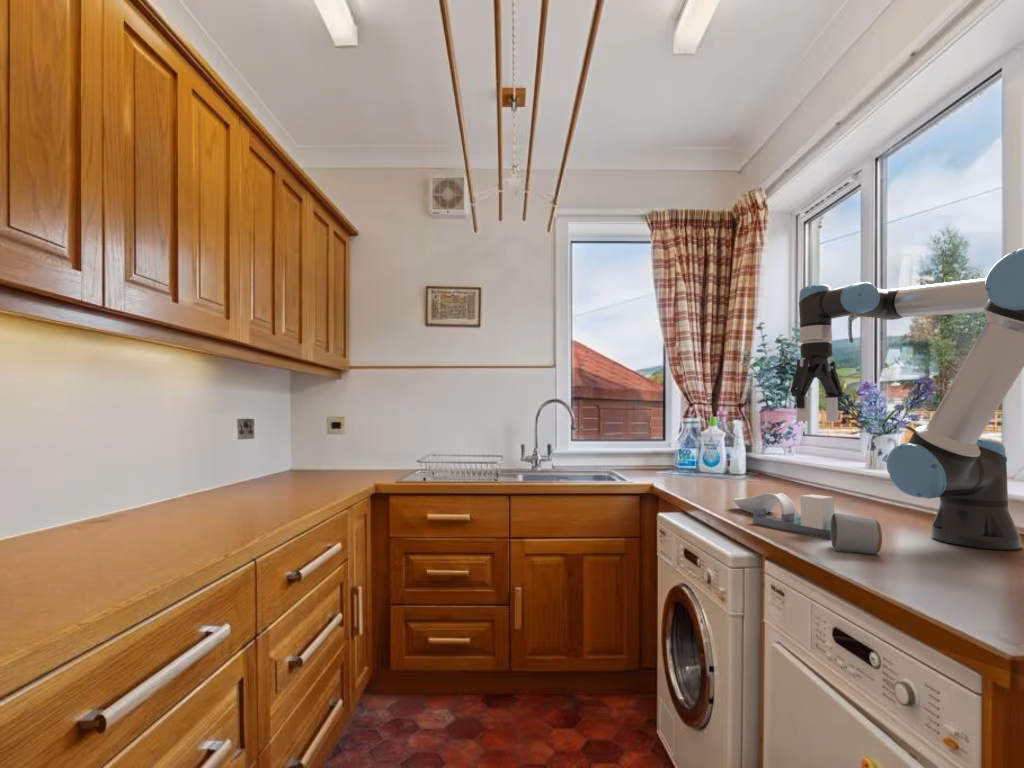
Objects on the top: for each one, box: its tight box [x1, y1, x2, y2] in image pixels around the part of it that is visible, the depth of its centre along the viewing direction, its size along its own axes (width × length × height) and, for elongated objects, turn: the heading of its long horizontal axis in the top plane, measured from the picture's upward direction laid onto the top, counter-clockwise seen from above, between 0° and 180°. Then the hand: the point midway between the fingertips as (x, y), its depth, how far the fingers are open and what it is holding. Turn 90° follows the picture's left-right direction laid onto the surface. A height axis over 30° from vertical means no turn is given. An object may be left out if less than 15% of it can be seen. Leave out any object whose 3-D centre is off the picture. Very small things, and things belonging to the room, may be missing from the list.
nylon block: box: [800, 493, 835, 529], centre depth 125 cm, size 5×5×7 cm
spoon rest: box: [733, 492, 800, 516], centre depth 150 cm, size 24×12×7 cm, turn 5°
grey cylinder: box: [830, 512, 883, 555], centre depth 111 cm, size 11×8×8 cm
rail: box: [752, 508, 831, 540], centre depth 130 cm, size 20×4×4 cm, turn 29°
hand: (818, 421), depth 143 cm, fingers open, 13 cm apart
